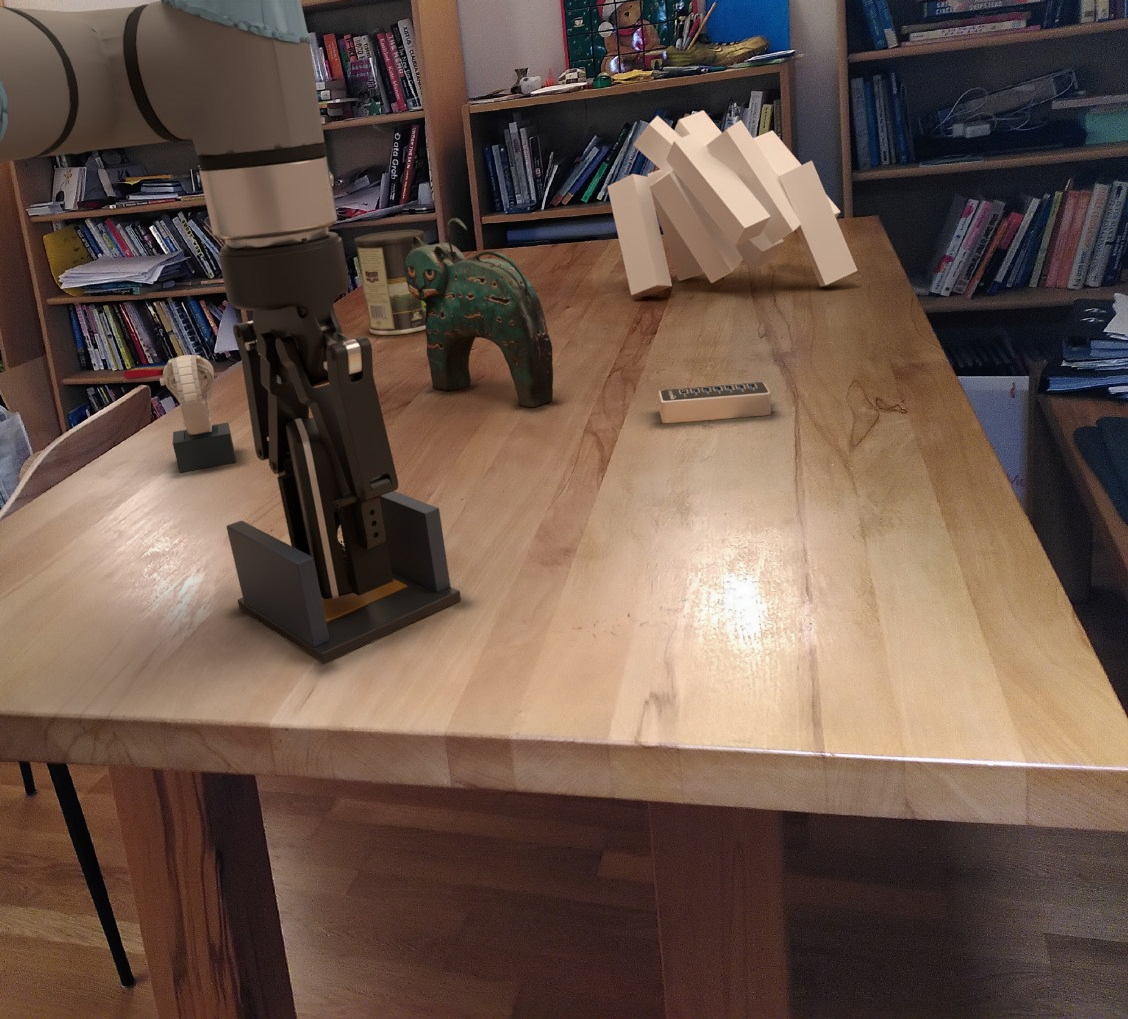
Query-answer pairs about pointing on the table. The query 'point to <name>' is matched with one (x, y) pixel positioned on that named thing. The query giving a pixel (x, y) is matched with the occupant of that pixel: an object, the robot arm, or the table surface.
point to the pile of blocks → (721, 206)
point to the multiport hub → (714, 402)
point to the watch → (197, 415)
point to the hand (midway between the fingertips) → (342, 570)
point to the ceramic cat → (480, 317)
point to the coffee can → (389, 282)
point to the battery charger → (319, 506)
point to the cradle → (337, 626)
